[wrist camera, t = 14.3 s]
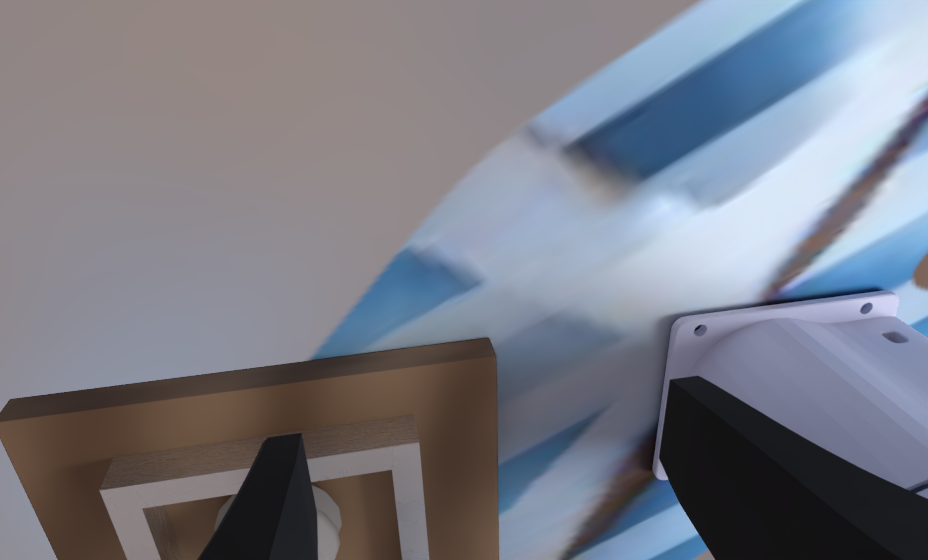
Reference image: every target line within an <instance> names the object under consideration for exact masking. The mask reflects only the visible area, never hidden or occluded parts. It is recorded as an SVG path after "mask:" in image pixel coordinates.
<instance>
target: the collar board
mask: <svg viewBox="0 0 928 560" xmlns="http://www.w3.org/2000/svg"><path fill="white" fill-rule="evenodd" d="M296 433H302V438H303V443H304V448H305V453H306V458H307V463H308V469H309V474H310V479H311V484H313V485H315V486H317V487H319V488H321V489H322V490H324V491H325V492H326V493H327V494H328V495H329V496H330V497H331V498H332V500H333V501H334V502H335V503H336V504H337V506H338V507H339V510H340V516H341V522H342V526H341V528H340V531H339V539H340V546H339V549H338V552H337V555H336V557H335V560H499V522H498V445H497V368H496V354H495V351H494V349H493V347H492V344H491V342H490V339H489V338H483V339H475V340H468V341H460V342H452V343H444V344H436V345H429V346H421V347H413V348H405V349H398V350H390V351H382V352H374V353H366V354H359V355H351V356H343V357H335V358H328V359H320V360H312V361H304V362H297V363H289V364H281V365H274V366H265V367H258V368H250V369H242V370H235V371H226V372H219V373H211V374H203V375H196V376H188V377H180V378H172V379H165V380H156V381H149V382H142V383H134V384H125V385H118V386H110V387H103V388H95V389H87V390H79V391H71V392H64V393H55V394H48V395H40V396H32V397H24V398H17V399H10V400H9V401H8V403H7V404H6V405H5V407H4V408H3V410H2V411H1V412H0V439H1V441H2V443H3V445H4V447H5V450H6V452H7V454H8V456H9V458H10V460H11V462H12V464H13V467H14V469H15V471H16V473H17V475H18V477H19V479H20V481H21V483H22V485H23V487H24V489H25V492H26V494H27V496H28V498H29V500H30V502H31V504H32V506H33V508H34V511H35V513H36V515H37V517H38V519H39V521H40V523H41V525H42V527H43V529H44V532H45V534H46V536H47V538H48V540H49V542H50V544H51V546H52V548H53V550H54V553H55V555H56V557H57V559H58V560H197V559H198V558H199V556H200V555H201V553H202V552H203V550H204V548H205V547H206V545H207V544H208V542H209V541H210V539H211V538H212V536H213V534H214V533H215V530H214V526H215V523H216V519H217V515H218V512H219V509H220V508H221V507H222V506H223V505H224V504H225V503H226V502H227V501H228V500H229V499H230V498H231V496H232V495H233V494H237V493H238V491H239V489H240V488H241V486H242V484H243V482H244V480H245V478H246V476H247V474H248V472H249V470H250V468H251V466H252V464H253V462H254V460H255V458H256V456H257V454H258V452H259V450H260V447H261V445H262V443H263V442H264V441H265V440H266V439H267V438H268V437H275V436H282V435H289V434H296Z"/></svg>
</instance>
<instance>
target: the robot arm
mask: <svg viewBox="0 0 928 560" xmlns="http://www.w3.org/2000/svg"><path fill="white" fill-rule="evenodd" d="M899 302H900V298H899V296H898V295H896V294H895V293H893V292H891V291H889V290H884V291H876V292H868V293H861V294H853V295H845V296H837V297H830V298H822V299H814V300H806V301H799V302H791V303H783V304H776V305H768V306H760V307H752V308H745V309H737V310H729V311H722V312H714V313H706V314H698V315H691V316H684V317H681V318H679V319H678V320H676V321H675V323H674V324H673V325H672V328H671V335H670V342H669V349H668V357H667V364H666V372H665V379H664V386H663V394H662V401H661V409H660V416H659V423H658V431H657V438H656V446H655V453H654V460H653V468H652V469H653V472H654V474H655V476H656V477H657V478H658V479H660V480H669V482H670V484H671V486H672V488H673V490H674V492H675V494H676V496H677V498H678V500H679V502H680V504H681V506H682V508H683V509H684V511H685V512H686V514H687V516H688V517H689V519H690V520H691V522H692V524H693V525H694V527H695V528H696V530H697V532H698V533H699V535H700V536H701V538H702V540H703V541H704V543H705V544H706V546H707V547H708V549H709V550H710V552H711V553H712V555H713V557H714V558H715V560H928V338H927V337H926V336H924V335H923V334H921V333H920V332H918V331H916V330H915V329H913V328H912V327H910V326H909V325H907V324H906V323H904V322H902V321H901V320H899V319H898V318H896V317H895V316H896V313H897V309H898V306H899ZM863 305H864V306H863ZM862 306H863V307H862ZM861 307H862V308H861ZM699 325H701V327H700V328H699V329H698V330H696V331H694V330H695V328H696V327H697V326H699ZM197 560H318V525H317V510H316V505H315V499H314V494H313V489H312V484H311V479H310V474H309V469H308V463H307V458H306V453H305V448H304V443H303V438H302V433H296V434H289V435H282V436H275V437H268V438H267V439H266V440H265V441H264V442H263V443H262V445H261V447H260V450H259V452H258V454H257V456H256V458H255V460H254V462H253V464H252V466H251V468H250V470H249V472H248V474H247V476H246V478H245V480H244V482H243V484H242V486H241V488H240V489H239V491H238V493H237V495H236V497H235V499H234V500H233V502H232V504H231V505H230V507H229V509H228V511H227V512H226V514H225V516H224V518H223V519H222V521H221V523H220V524H219V526H218V528H217V530H216V531H215V533H214V534H213V536H212V538H211V539H210V541H209V542H208V544H207V545H206V547H205V548H204V550H203V552H202V553H201V555H200V556H199V558H198V559H197Z"/></svg>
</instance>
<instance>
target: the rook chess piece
mask: <svg viewBox="0 0 928 560" xmlns="http://www.w3.org/2000/svg"><path fill="white" fill-rule="evenodd" d="M312 489H313V494H314V499H315V505H316V510H317V525H318V560H335V557H336V555H337V552H338V549H339V546H340V539H339V531H340V528H341V526H342V522H341V516H340V510H339V507H338V506H337V504H336V503H335V502H334V501H333V500H332V498H331V497H330V496H329V495H328V494H327V493H326V492H325V491H324V490H322V489H321V488H319V487H317V486H315V485H313V484H312ZM236 495H237V494H233V495H232V496H231V498H230V499H229V500H228V501H227V502H226V503H225V504H224V505H223V506H222V507H221V508H220V509H219V512H218V515H217V519H216V523H215V526H214V530H215V531H216V530H217V528H218V526H219V524H220V523H221V521H222V519H223V518H224V516H225V514H226V512H227V511H228V509H229V507H230V505H231V504H232V502H233V500H234V499H235V497H236Z"/></svg>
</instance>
